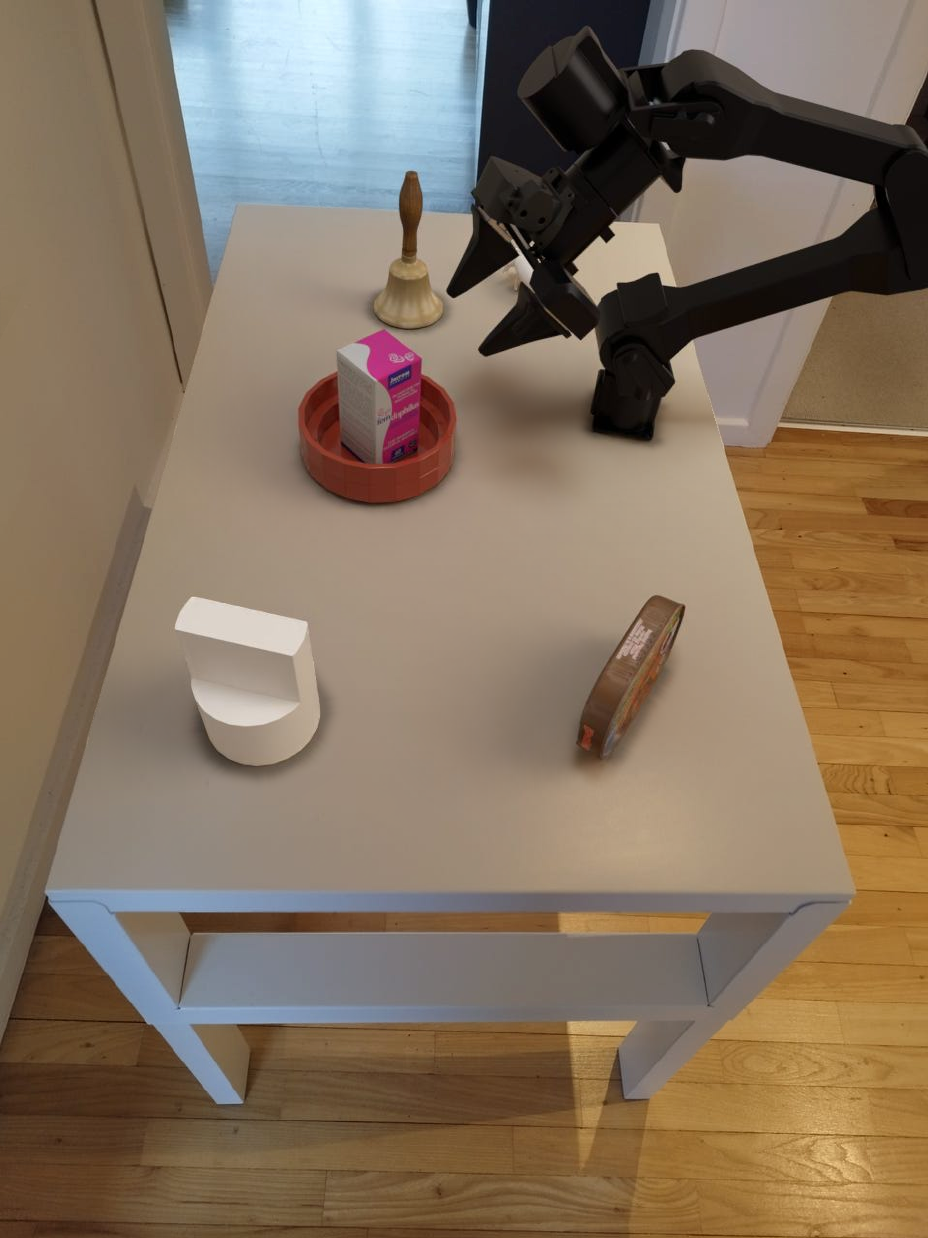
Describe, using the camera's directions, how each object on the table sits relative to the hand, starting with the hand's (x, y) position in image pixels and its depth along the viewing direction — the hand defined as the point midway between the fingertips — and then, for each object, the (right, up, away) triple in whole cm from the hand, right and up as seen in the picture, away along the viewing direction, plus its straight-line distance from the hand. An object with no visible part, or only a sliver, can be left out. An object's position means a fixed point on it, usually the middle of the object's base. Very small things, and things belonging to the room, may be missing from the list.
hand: (464, 323), depth 80 cm
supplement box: (-9, -10, +9) cm, 16 cm away
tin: (+13, -34, -7) cm, 37 cm away
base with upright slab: (-16, -35, -10) cm, 40 cm away
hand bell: (-7, +10, +24) cm, 27 cm away
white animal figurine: (+8, +12, +27) cm, 30 cm away
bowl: (-9, -10, +9) cm, 16 cm away
